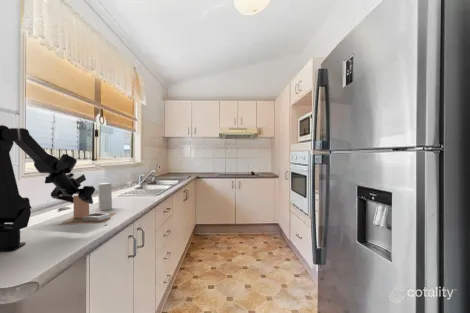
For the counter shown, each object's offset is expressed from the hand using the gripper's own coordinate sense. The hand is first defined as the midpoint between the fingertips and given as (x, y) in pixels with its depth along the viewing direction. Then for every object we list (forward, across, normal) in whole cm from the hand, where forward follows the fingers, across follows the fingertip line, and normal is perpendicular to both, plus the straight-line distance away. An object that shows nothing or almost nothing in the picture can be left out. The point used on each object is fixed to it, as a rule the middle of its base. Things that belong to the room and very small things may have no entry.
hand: (83, 202), depth 116 cm
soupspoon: (+11, +20, +1) cm, 23 cm away
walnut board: (+4, -6, +7) cm, 10 cm away
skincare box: (+18, +4, -7) cm, 20 cm away
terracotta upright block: (+3, 0, +5) cm, 6 cm away
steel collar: (+2, -10, +7) cm, 12 cm away
